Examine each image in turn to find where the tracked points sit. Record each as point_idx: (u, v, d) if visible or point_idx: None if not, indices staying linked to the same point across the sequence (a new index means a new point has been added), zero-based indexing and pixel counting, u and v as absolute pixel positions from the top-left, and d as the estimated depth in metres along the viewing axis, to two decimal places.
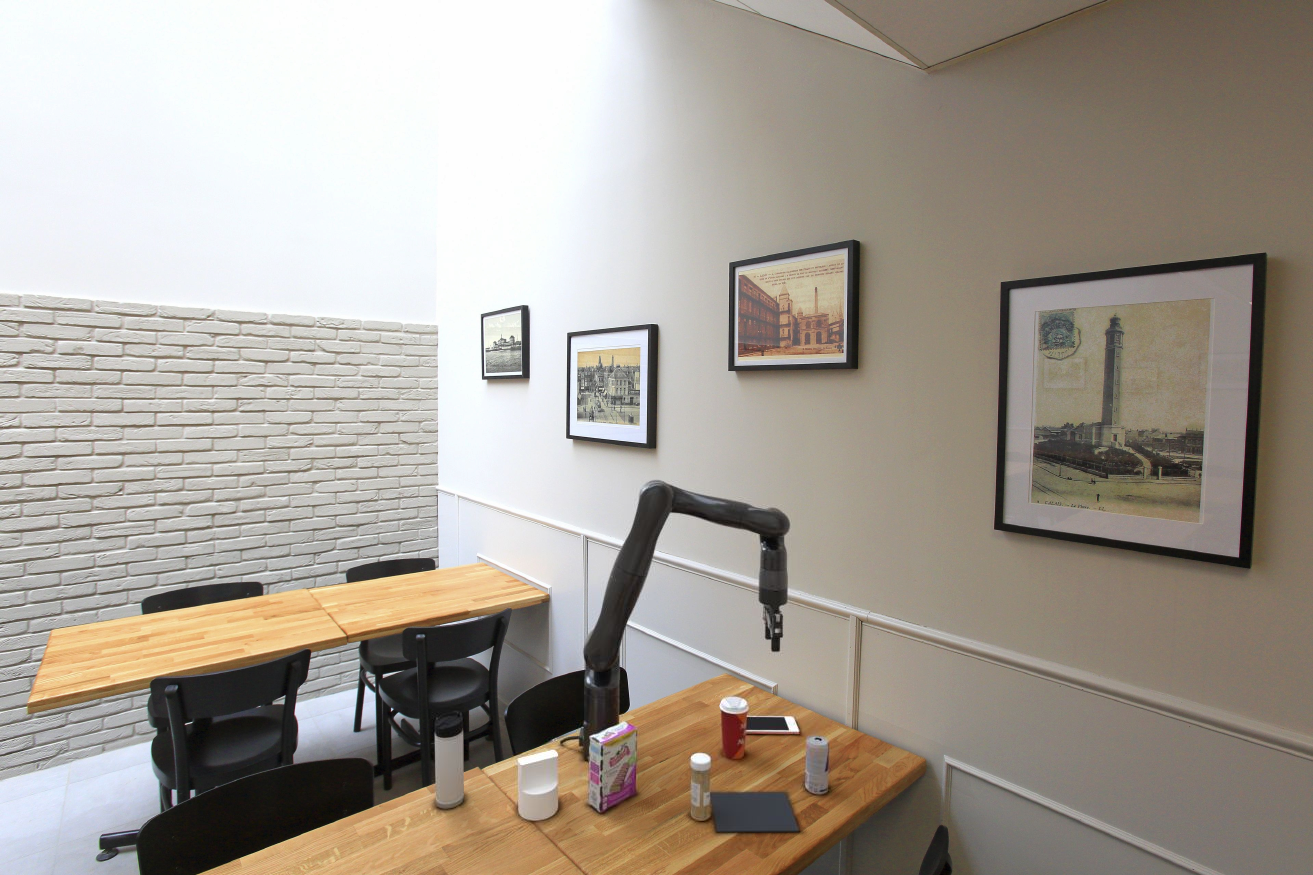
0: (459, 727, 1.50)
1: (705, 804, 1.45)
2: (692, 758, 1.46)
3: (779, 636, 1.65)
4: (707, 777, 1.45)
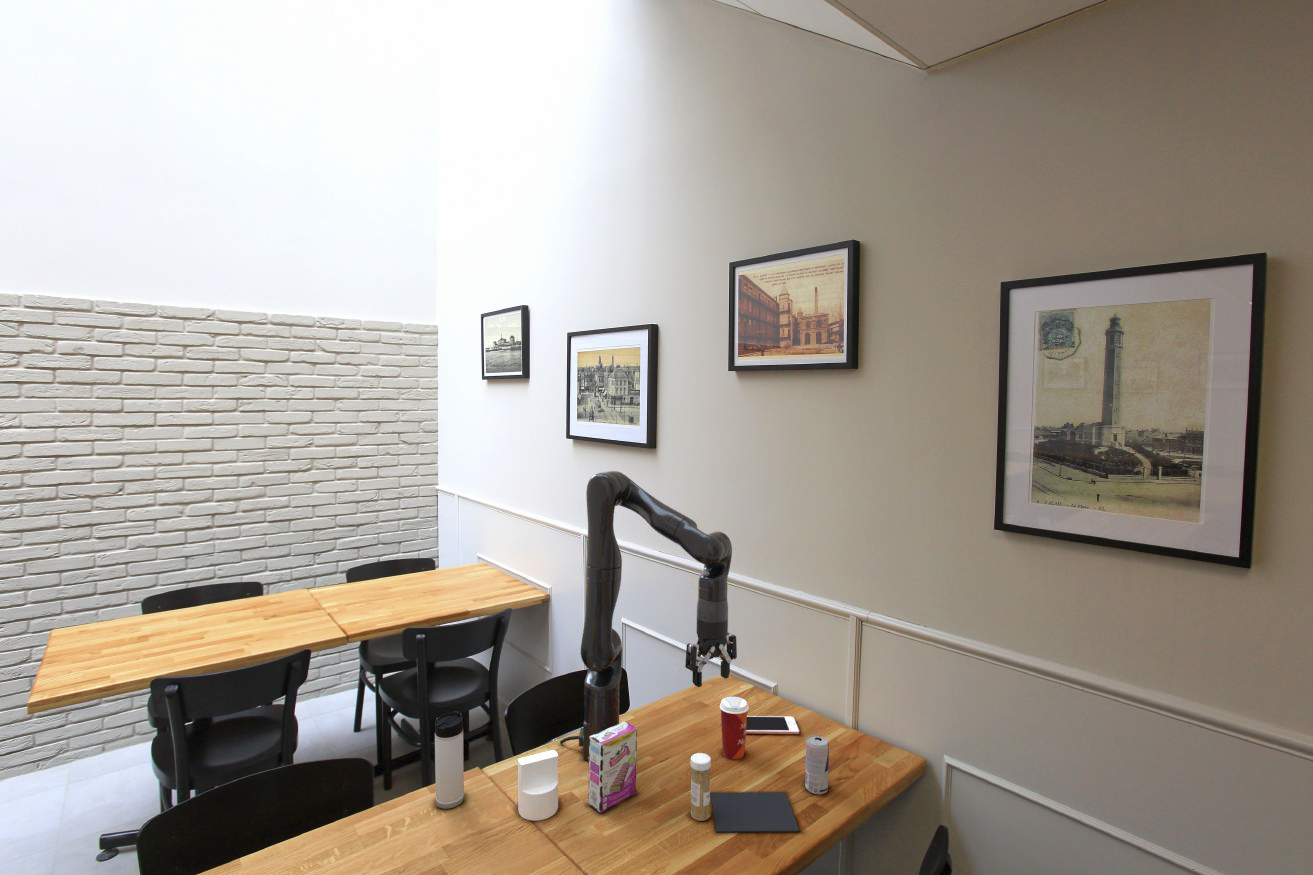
0: (459, 727, 1.50)
1: (705, 804, 1.45)
2: (692, 758, 1.46)
3: (690, 668, 1.53)
4: (707, 777, 1.45)
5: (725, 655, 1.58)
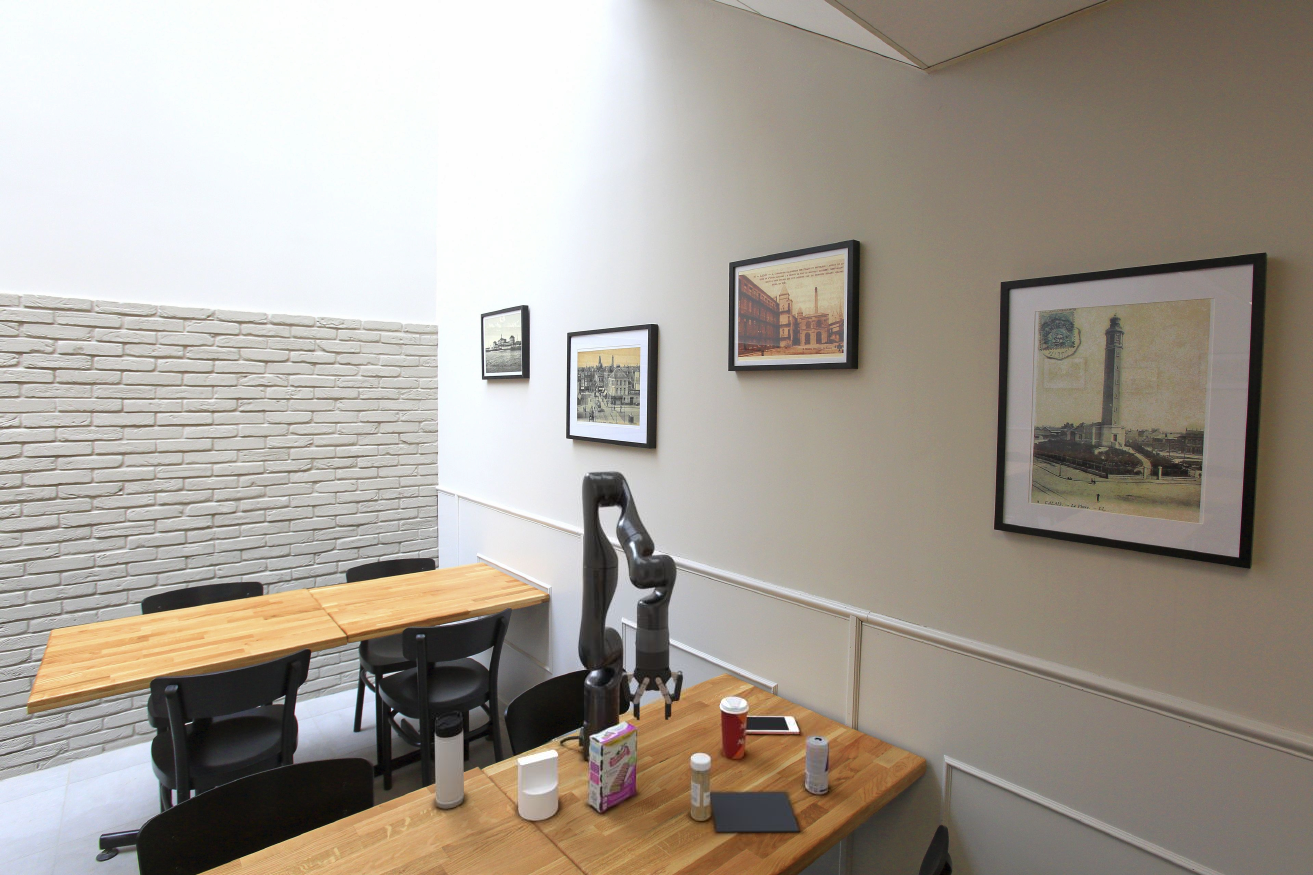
0: (459, 727, 1.50)
1: (705, 804, 1.45)
2: (692, 758, 1.46)
3: None
4: (707, 777, 1.45)
5: (662, 692, 1.44)
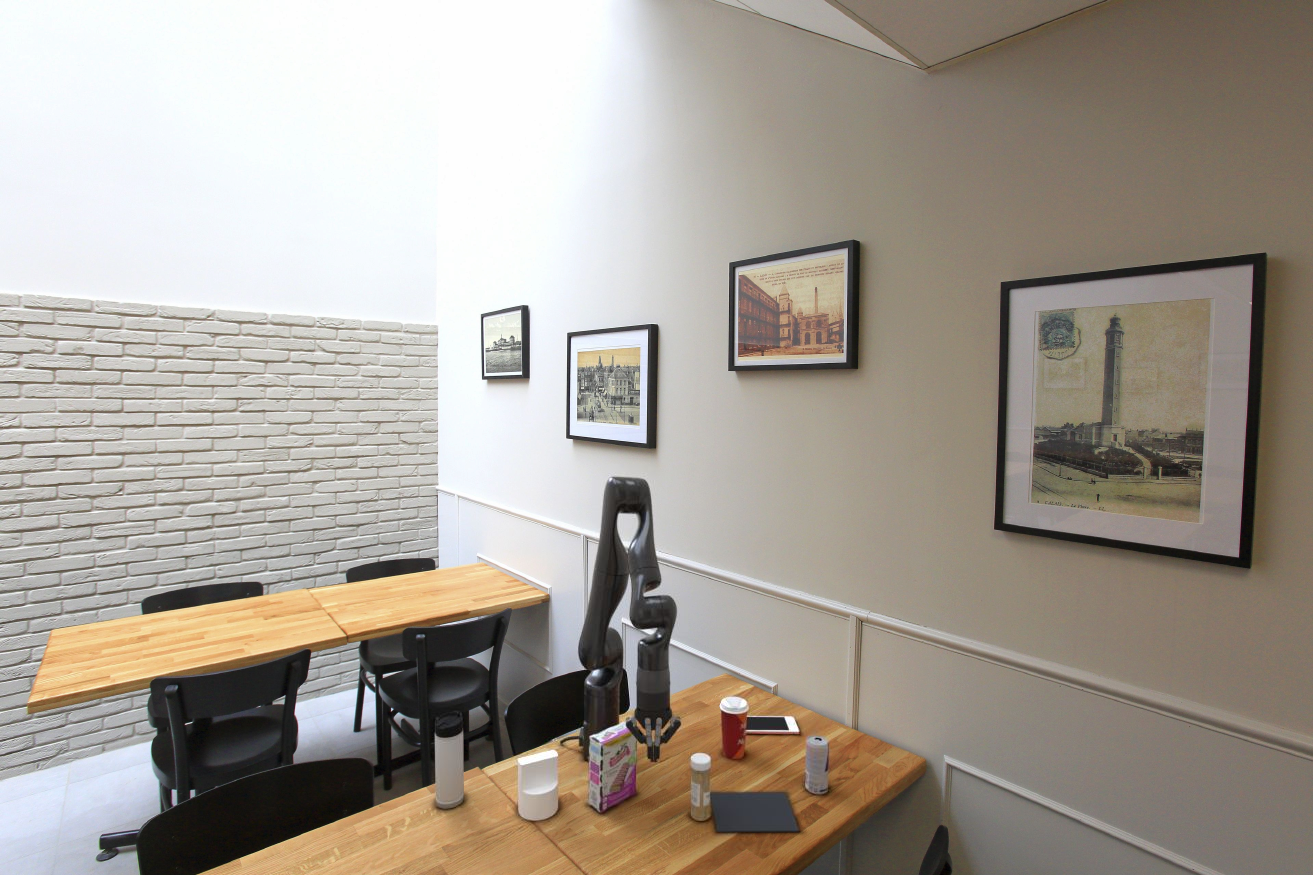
0: (459, 727, 1.50)
1: (705, 804, 1.45)
2: (692, 758, 1.46)
3: None
4: (707, 777, 1.45)
5: (656, 733, 1.44)
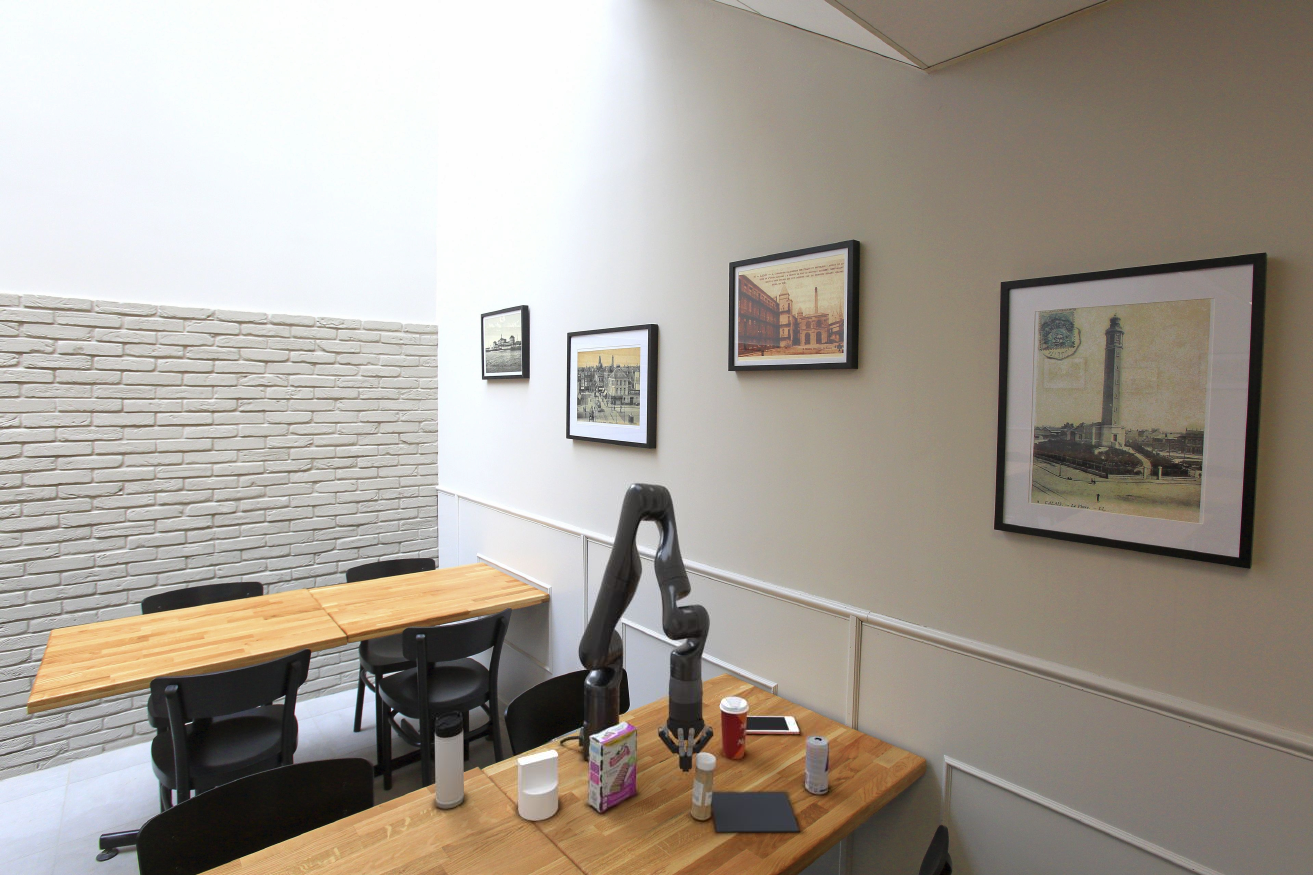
0: (459, 727, 1.50)
1: (706, 804, 1.45)
2: (697, 757, 1.46)
3: None
4: (711, 777, 1.45)
5: (689, 743, 1.44)
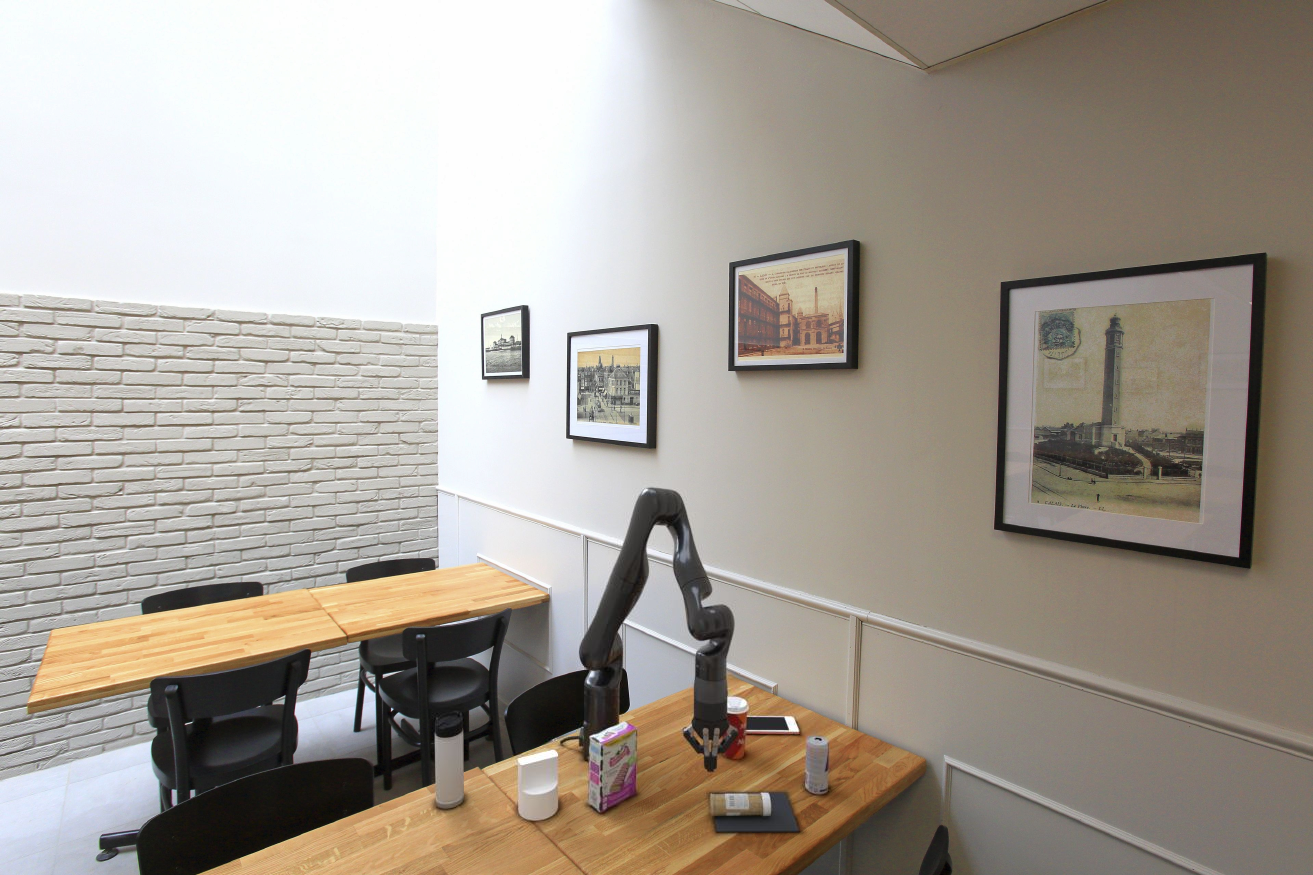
0: (459, 727, 1.50)
1: (727, 814, 1.45)
2: (769, 796, 1.47)
3: None
4: (753, 814, 1.46)
5: (714, 743, 1.44)
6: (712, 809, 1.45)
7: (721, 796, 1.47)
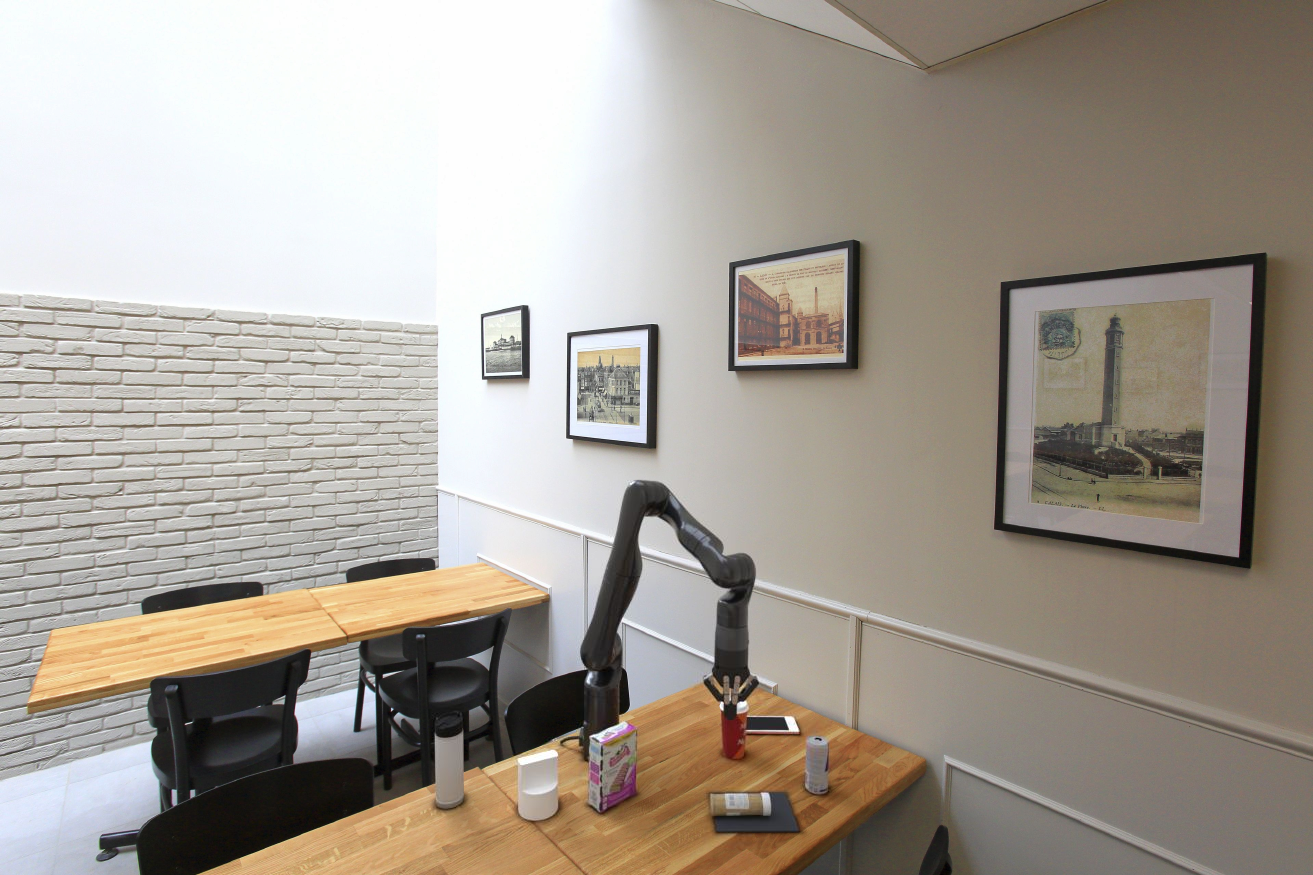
0: (459, 727, 1.50)
1: (727, 813, 1.45)
2: (769, 796, 1.47)
3: None
4: (753, 814, 1.46)
5: (734, 691, 1.44)
6: (712, 809, 1.45)
7: (721, 796, 1.47)
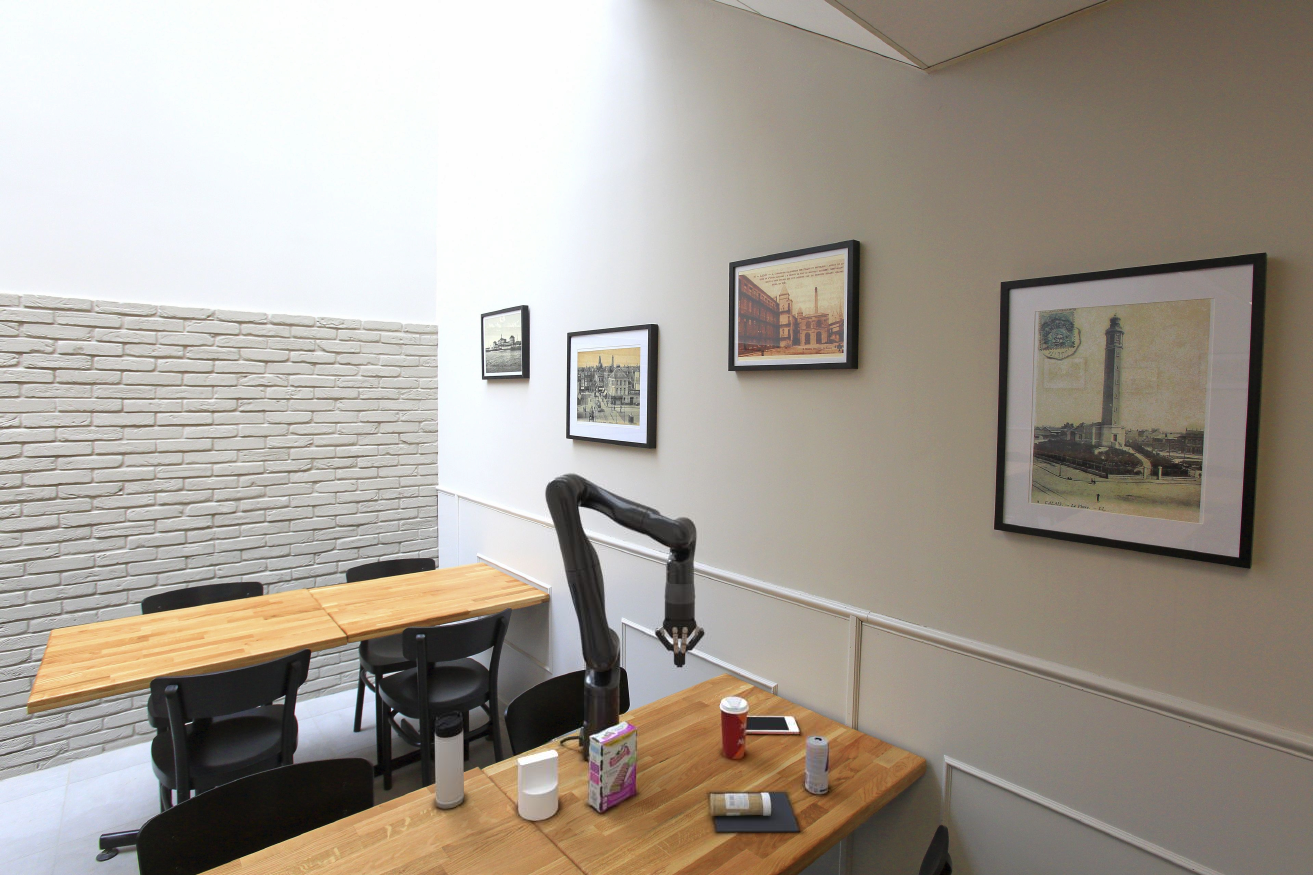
0: (459, 727, 1.50)
1: (727, 813, 1.45)
2: (769, 796, 1.47)
3: None
4: (753, 814, 1.46)
5: (682, 641, 1.62)
6: (712, 809, 1.45)
7: (721, 796, 1.47)
